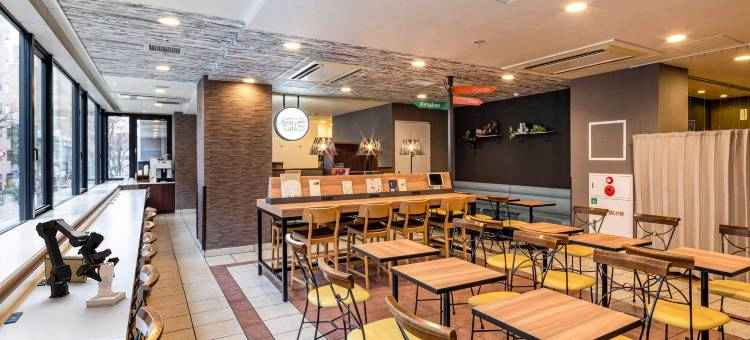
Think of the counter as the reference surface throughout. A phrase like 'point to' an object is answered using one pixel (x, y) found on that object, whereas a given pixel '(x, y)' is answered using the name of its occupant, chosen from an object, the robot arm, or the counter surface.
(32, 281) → the counter surface
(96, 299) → the tray
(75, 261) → the clutch purse
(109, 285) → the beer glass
